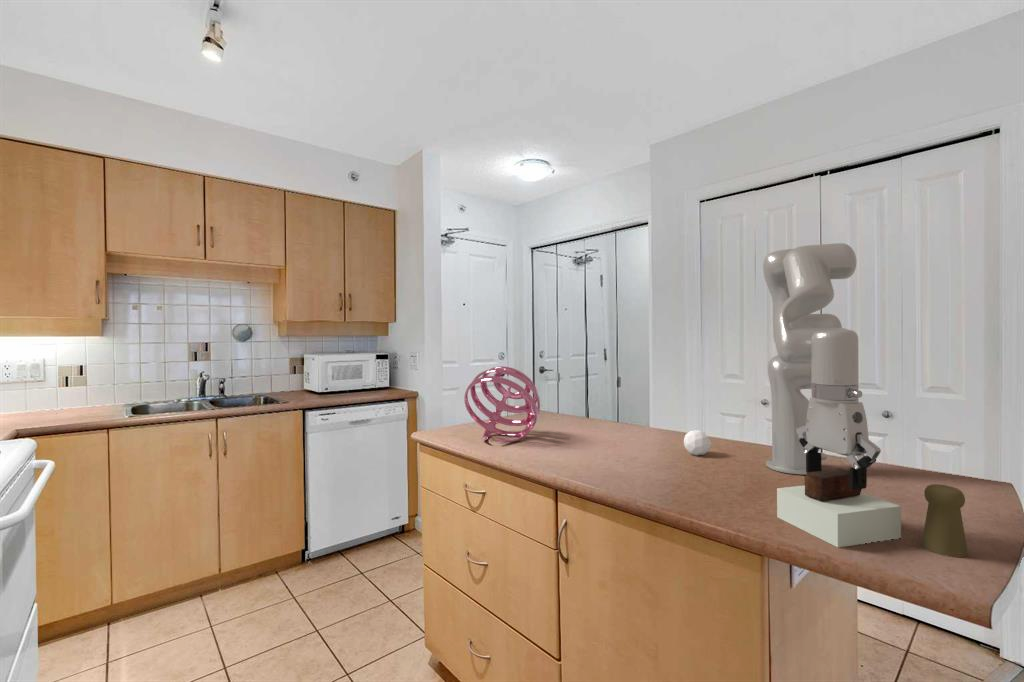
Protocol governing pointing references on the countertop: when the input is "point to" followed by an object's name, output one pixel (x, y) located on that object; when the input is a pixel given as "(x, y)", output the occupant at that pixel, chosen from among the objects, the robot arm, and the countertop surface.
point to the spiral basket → (504, 402)
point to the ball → (697, 442)
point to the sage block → (840, 517)
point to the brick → (829, 485)
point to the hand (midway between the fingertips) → (834, 480)
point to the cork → (944, 521)
